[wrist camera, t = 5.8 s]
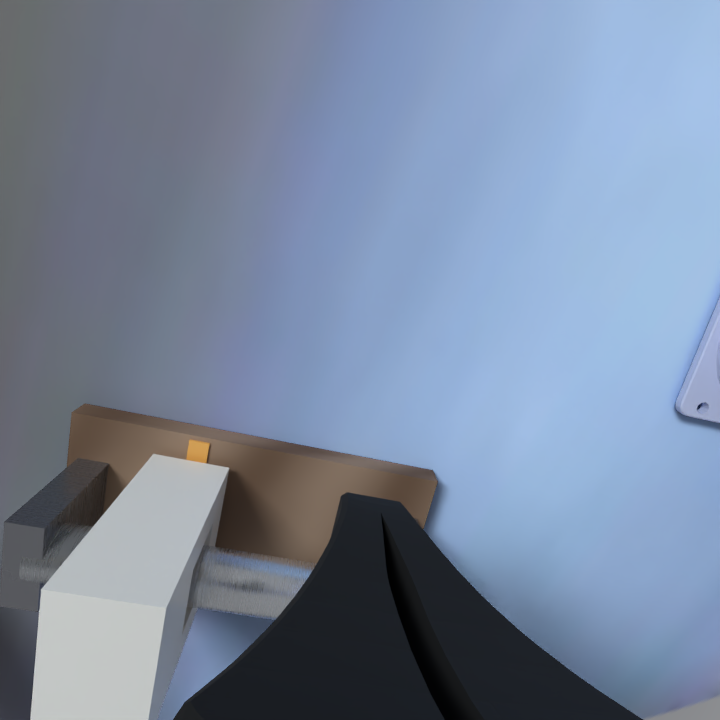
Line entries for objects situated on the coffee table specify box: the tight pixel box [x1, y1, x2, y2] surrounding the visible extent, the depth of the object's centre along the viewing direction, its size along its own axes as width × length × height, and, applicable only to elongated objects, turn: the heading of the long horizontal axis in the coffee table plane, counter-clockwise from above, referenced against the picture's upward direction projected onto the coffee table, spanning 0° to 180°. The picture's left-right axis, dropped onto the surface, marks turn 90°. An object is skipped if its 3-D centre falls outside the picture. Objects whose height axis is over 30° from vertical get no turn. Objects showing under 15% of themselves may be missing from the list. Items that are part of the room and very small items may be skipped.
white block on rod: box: [30, 454, 229, 720], centre depth 16 cm, size 3×5×7 cm, turn 167°
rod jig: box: [0, 404, 438, 620], centre depth 18 cm, size 15×7×6 cm, turn 77°
